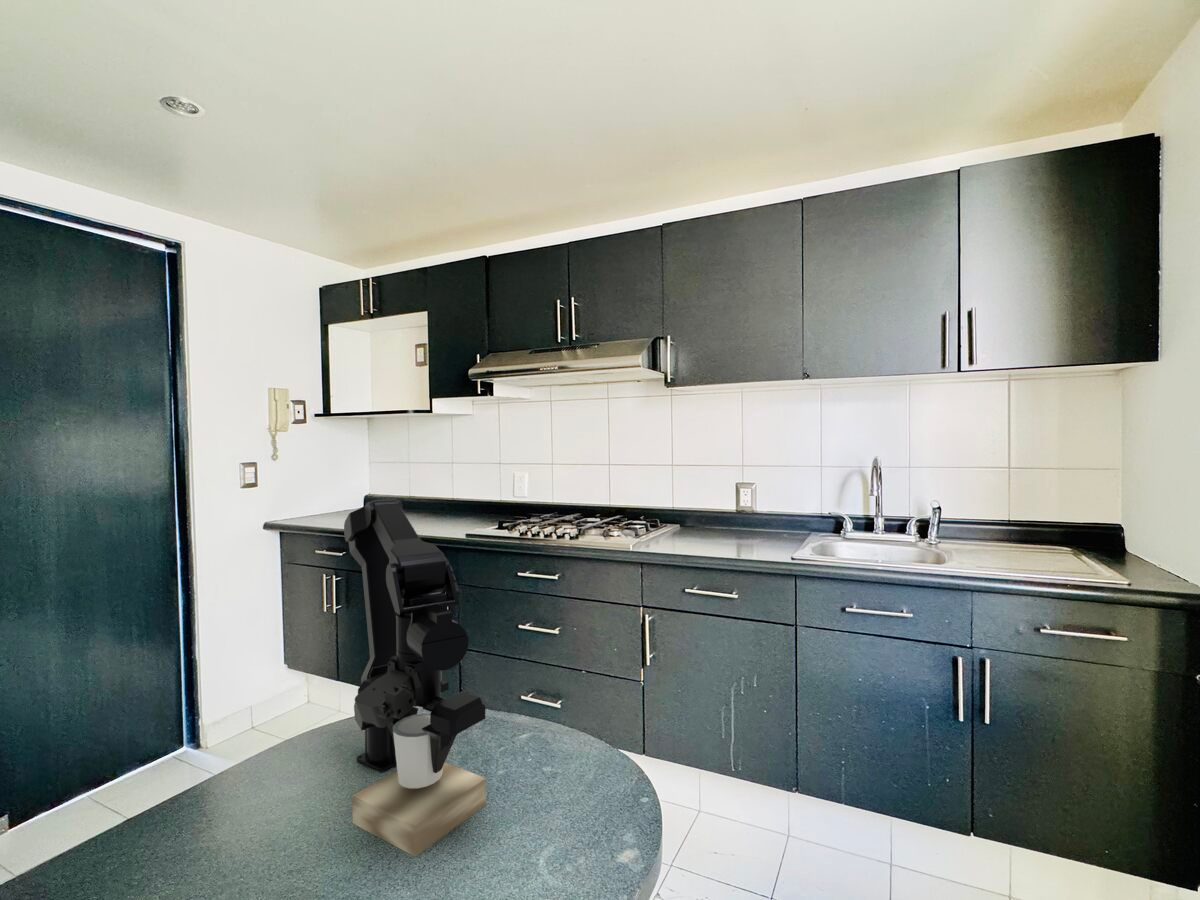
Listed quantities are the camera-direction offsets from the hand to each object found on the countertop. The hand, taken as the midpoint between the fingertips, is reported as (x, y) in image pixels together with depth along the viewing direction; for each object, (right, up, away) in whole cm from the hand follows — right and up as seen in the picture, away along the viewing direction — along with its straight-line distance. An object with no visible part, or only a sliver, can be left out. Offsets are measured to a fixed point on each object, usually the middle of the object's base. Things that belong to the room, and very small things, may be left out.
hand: (420, 764), depth 78 cm
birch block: (0, -7, 0) cm, 7 cm away
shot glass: (0, -2, 0) cm, 2 cm away
